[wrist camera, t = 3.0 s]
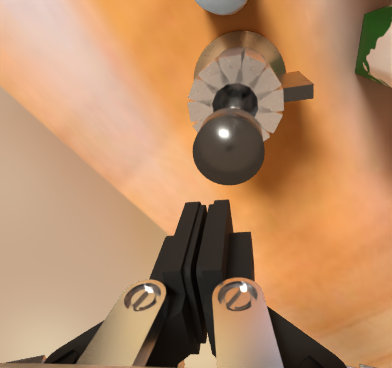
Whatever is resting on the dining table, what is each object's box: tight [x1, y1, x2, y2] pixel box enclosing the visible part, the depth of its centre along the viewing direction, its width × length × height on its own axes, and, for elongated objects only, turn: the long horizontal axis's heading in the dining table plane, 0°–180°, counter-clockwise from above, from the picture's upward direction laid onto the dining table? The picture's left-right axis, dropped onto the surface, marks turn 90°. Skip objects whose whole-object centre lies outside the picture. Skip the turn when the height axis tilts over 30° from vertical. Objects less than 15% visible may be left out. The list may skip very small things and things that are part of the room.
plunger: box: [193, 90, 264, 185], centre depth 28 cm, size 4×4×19 cm
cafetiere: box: [188, 31, 313, 142], centre depth 38 cm, size 14×13×17 cm
